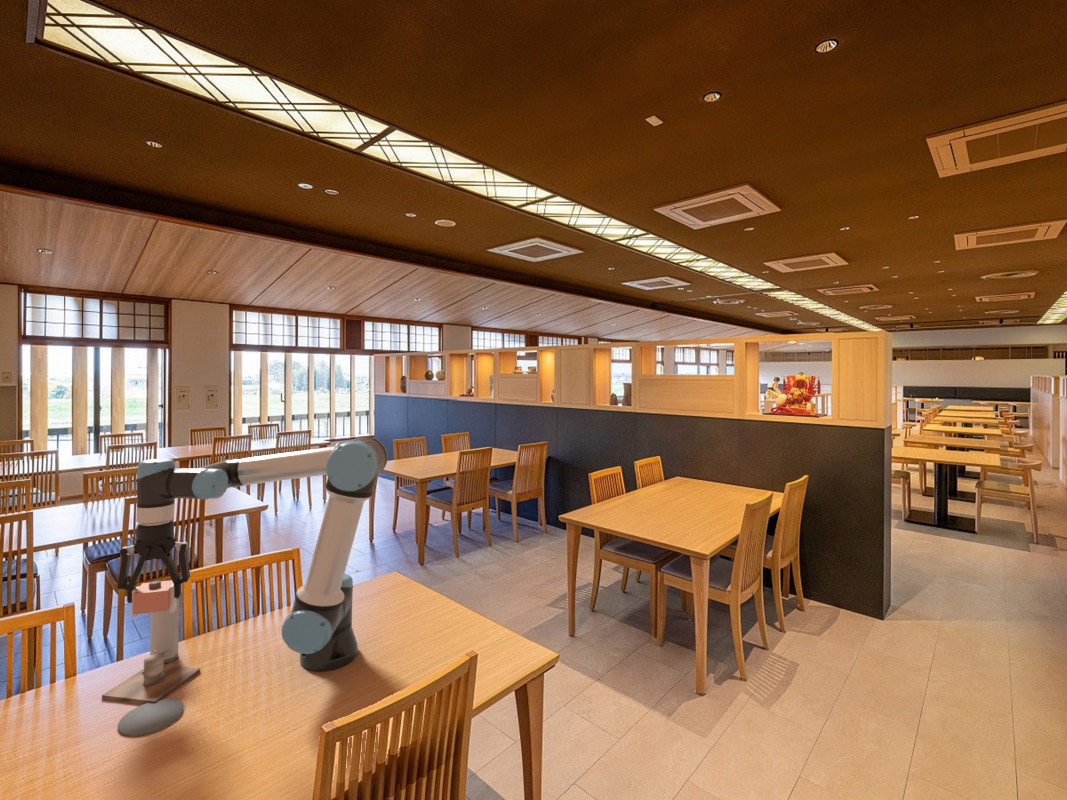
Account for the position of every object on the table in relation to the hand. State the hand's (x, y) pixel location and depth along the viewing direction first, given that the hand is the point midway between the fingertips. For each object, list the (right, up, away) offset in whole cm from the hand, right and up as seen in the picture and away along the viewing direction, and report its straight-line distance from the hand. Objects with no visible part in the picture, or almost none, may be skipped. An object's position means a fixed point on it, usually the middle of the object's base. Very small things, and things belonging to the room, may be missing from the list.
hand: (154, 612), depth 126 cm
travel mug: (-7, -19, +13) cm, 24 cm away
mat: (+8, -20, -11) cm, 24 cm away
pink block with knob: (0, +1, 0) cm, 1 cm away
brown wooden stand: (-1, -19, +1) cm, 19 cm away
